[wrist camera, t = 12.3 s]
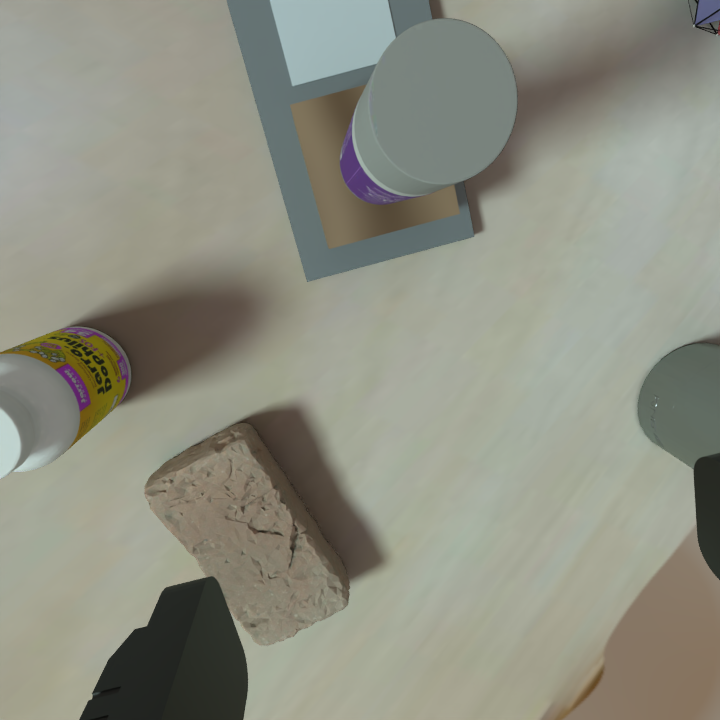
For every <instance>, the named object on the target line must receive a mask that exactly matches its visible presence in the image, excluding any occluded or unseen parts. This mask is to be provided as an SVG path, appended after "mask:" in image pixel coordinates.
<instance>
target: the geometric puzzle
mask: <svg viewBox="0 0 720 720" xmlns="http://www.w3.org/2000/svg"><path fill="white" fill-rule="evenodd" d="M695 1H696V3H697V9H696V15H695V21H694V23H693V27H697V28H699V29H702V28H704V27H699V26H698V25H702V24H706V23H710V22H714V21H718V20H720V0H698V2H697V0H695ZM688 2H689V1H688ZM689 7H690V5H689ZM690 11H691V9H690ZM691 16H692V14H691ZM692 20H693V18H692ZM710 25H711V27H712V28H713V29H710V28H705V29H710V30H714V32H715V33H716V36H718V35H720V22H719V27H718V30H715V29H714V27H713V26H712V24H711V23H710ZM702 30H704V29H702ZM705 31H707V30H705ZM716 31H717V32H716ZM708 32H710V31H708ZM710 33H712V32H710ZM715 33H713V34H715Z"/></svg>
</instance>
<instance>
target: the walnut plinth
mask: <svg viewBox="0 0 720 720" xmlns="http://www.w3.org/2000/svg"><path fill="white" fill-rule="evenodd" d="M366 85H367V84H366ZM366 85H362V86H358V87H355V88H351V89H347V90H343V91H340V92H336V93H332V94H328V95H325V96H321V97H317V98H314V99H310V100H306V101H302V102H299V103H295V104H291V105H290V107H291V111H292V115H293V120H294V124H295V128H296V131H297V135H298V139H299V142H300V146H301V150H302V153H303V157H304V161H305V165H306V168H307V172H308V176H309V179H310V183H311V187H312V190H313V194H314V198H315V201H316V205H317V209H318V213H319V216H320V220H321V224H322V227H323V231H324V235H325V238H326V242H327V246H328V248H329V249H331V248H335V247H339V246H342V245H346V244H350V243H354V242H357V241H361V240H365V239H368V238H372V237H376V236H380V235H383V234H387V233H391V232H394V231H398V230H402V229H405V228H409V227H413V226H417V225H420V224H424V223H428V222H431V221H435V220H439V219H442V218H446V217H450V216H454V215H457V214H460V211H459V206H458V201H457V196H456V191H455V186H454V185H451V186H449V187H446V188H443V189H441V190H438V191H436V192H433V193H431V194H428V195H424V196H420V197H416V198H412V199H408V200H404V201H399V202H395V203H391V204H385V205H376V204H371V203H367V202H365V201H363V200H361V199H359V198H358V197H356V196H355V195H354V194H353V193H352V192H351V191H350V190H349V188H348V187H347V186H346V184H345V182H344V180H343V178H342V175H341V171H340V152H341V148H342V144H343V142H344V139H345V136H346V133H347V130H348V128H349V125H350V122H351V119H352V116H353V114H354V111H355V108H356V105H357V103H358V101H359V99H360V97H361V95H362V93H363V91H364V89H365V87H366Z"/></svg>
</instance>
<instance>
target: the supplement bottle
mask: <svg viewBox="0 0 720 720" xmlns="http://www.w3.org/2000/svg"><path fill="white" fill-rule="evenodd" d="M130 383H131V367H130V363H129V360H128V358H127V356H126V354H125V352H124V351H123V349H122V348H121V347H120V345H119V344H118V343H117V342H116V341H115V340H113V339H112V338H111V337H109V336H108V335H106V334H105V333H103V332H101V331H98V330H96V329H92V328H88V327H67V328H63V329H60V330H57V331H54V332H51V333H49V334H46V335H44V336H41V337H38V338H36V339H33V340H31V341H28V342H26V343H23V344H21V345H18V346H16V347H13V348H10V349H8V350H5V351H3V352H0V479H2V478H4V477H5V476H7V475H8V474H10V473H11V472H23V471H30V470H34V469H38V468H41V467H43V466H45V465H48V464H49V463H51V462H53V461H54V460H56V459H57V458H58V457H60V456H61V455H62V454H64V453H65V452H66V451H67V450H68V449H69V448H70V447H71V446H73V445H74V444H75V443H76V442H77V441H78V440H79V439H81V438H82V437H83V436H84V435H85V434H86V433H87V432H89V431H90V430H91V429H92V428H93V427H94V426H95V425H97V424H98V423H99V422H100V421H101V420H102V419H103V418H105V417H106V416H107V415H108V414H109V413H110V412H111V411H112V410H113V409H115V408H116V407H117V406H118V405H119V404H120V403H121V402H122V400H123V399H124V398H125V396H126V394H127V392H128V390H129V387H130Z"/></svg>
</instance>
